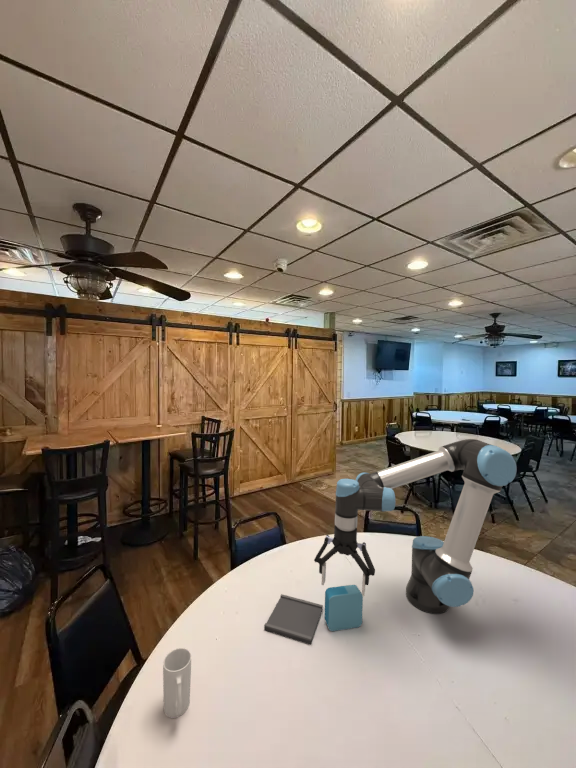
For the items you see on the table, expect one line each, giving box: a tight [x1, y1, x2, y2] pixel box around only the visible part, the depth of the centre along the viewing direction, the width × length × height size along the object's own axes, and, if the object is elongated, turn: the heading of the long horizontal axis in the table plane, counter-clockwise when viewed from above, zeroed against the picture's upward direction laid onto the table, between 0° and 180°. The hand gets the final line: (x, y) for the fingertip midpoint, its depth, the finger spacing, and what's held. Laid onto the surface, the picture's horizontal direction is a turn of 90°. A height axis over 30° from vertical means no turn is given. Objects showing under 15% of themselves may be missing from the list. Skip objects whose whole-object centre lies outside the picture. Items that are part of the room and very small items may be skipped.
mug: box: [162, 647, 192, 719], centre depth 79 cm, size 10×7×12 cm, turn 23°
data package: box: [324, 584, 364, 632], centre depth 109 cm, size 12×4×12 cm, turn 102°
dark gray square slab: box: [263, 593, 324, 646], centre depth 110 cm, size 16×16×2 cm
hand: (343, 587), depth 109 cm, fingers open, 13 cm apart
